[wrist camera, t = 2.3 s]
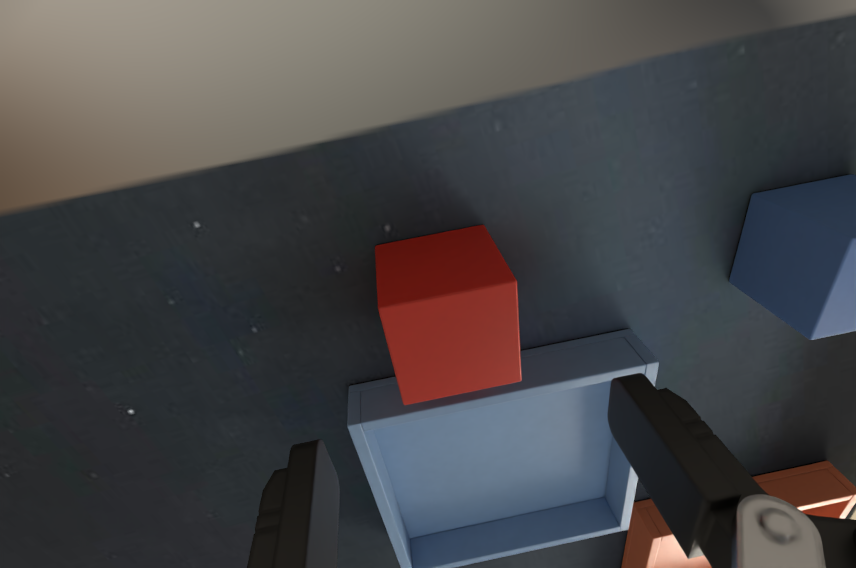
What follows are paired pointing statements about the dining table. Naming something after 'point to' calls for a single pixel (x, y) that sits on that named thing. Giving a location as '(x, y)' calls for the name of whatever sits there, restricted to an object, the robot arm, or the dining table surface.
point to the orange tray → (802, 487)
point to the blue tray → (502, 456)
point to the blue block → (802, 255)
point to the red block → (448, 314)
